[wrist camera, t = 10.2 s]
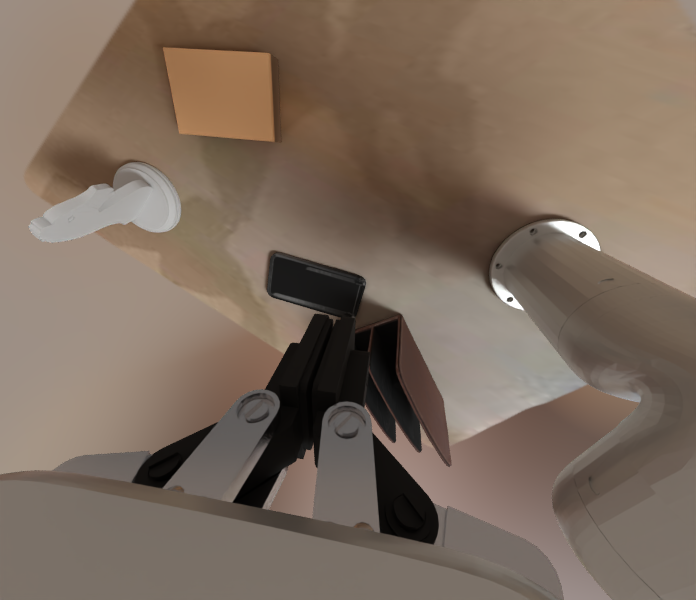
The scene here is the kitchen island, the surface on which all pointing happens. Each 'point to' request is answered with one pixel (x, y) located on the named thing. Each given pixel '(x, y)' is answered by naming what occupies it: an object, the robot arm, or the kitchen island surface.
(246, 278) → the kitchen island surface
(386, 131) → the kitchen island surface
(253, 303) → the kitchen island surface
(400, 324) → the letter holder
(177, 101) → the tan flat block
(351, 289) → the phone
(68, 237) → the chess piece
